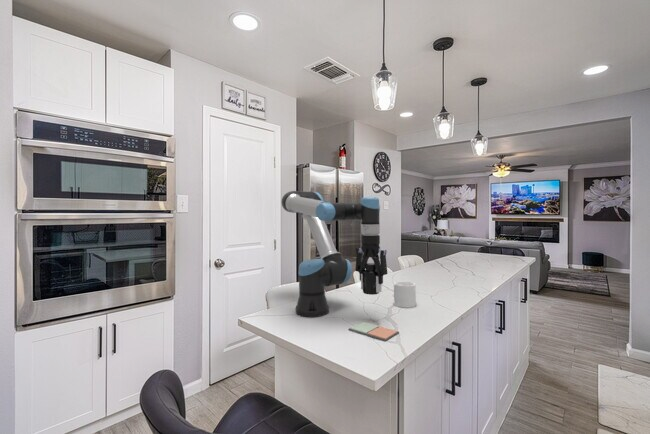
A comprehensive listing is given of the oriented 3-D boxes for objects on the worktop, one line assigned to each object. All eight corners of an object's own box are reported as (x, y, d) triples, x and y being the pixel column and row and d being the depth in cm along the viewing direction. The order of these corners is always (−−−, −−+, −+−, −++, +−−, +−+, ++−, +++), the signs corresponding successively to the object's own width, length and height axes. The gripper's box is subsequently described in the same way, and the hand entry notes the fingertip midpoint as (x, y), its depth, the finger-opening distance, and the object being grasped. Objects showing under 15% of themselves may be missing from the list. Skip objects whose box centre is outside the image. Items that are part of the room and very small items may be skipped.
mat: (348, 330, 110) (348, 328, 110) (363, 323, 117) (362, 321, 117) (385, 341, 99) (385, 339, 99) (399, 333, 106) (399, 330, 106)
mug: (411, 309, 133) (410, 287, 134) (390, 306, 140) (390, 284, 140) (420, 303, 143) (420, 282, 144) (401, 300, 150) (400, 279, 150)
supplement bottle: (379, 295, 117) (379, 265, 117) (362, 294, 118) (361, 265, 118) (379, 291, 123) (379, 262, 123) (363, 290, 125) (363, 262, 125)
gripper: (346, 234, 125) (346, 288, 125) (386, 236, 111) (387, 296, 111) (356, 233, 130) (357, 285, 130) (396, 235, 117) (397, 292, 117)
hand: (371, 290), depth 121 cm, fingers closed on supplement bottle, 7 cm apart
